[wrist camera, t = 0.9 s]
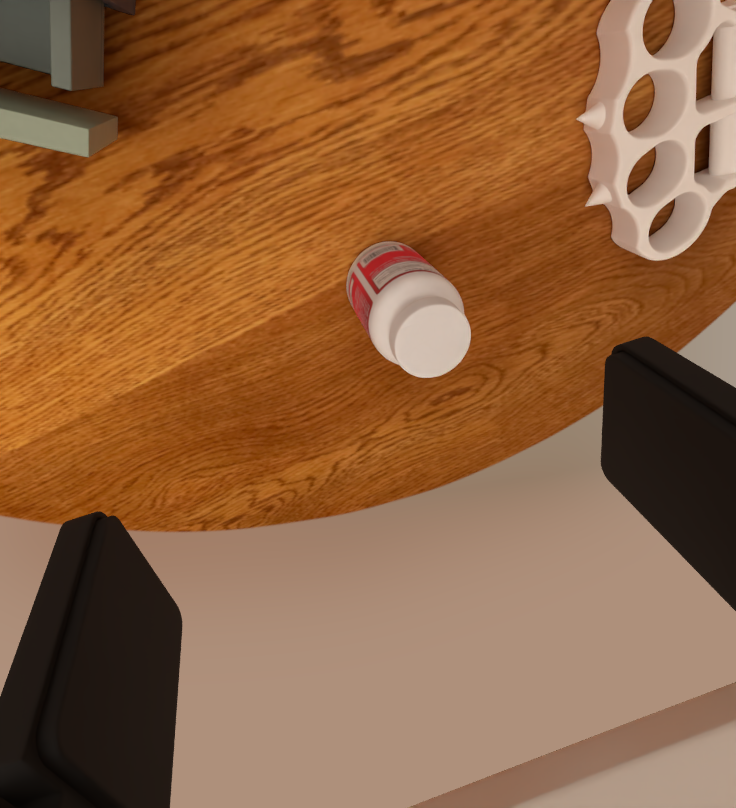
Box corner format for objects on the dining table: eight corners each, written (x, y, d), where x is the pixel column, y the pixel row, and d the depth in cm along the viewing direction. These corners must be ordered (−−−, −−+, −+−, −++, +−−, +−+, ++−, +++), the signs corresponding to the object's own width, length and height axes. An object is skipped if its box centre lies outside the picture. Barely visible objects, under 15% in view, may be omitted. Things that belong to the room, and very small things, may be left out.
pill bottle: (394, 332, 42) (442, 404, 33) (329, 296, 39) (361, 364, 30) (440, 264, 40) (504, 321, 31) (374, 222, 37) (423, 271, 28)
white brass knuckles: (745, 202, 43) (579, 273, 43) (767, -80, 33) (550, 14, 33) (781, 211, 40) (604, 287, 40) (817, -93, 30) (580, 8, 30)
